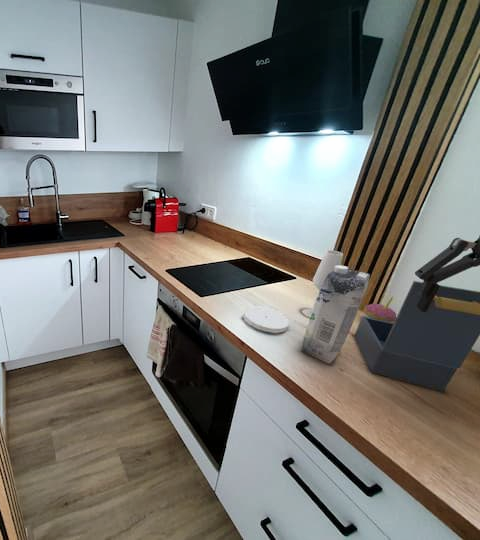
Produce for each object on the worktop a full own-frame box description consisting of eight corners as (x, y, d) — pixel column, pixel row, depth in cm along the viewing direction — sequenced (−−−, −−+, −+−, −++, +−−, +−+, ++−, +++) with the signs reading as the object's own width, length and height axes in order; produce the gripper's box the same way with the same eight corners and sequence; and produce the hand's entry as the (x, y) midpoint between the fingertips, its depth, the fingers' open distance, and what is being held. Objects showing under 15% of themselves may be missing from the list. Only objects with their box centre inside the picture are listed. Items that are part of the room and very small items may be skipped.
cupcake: (397, 332, 95) (413, 301, 90) (369, 329, 96) (383, 298, 91) (379, 318, 103) (393, 289, 98) (354, 315, 104) (366, 286, 99)
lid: (413, 280, 68) (426, 290, 62) (500, 295, 62) (522, 307, 57) (382, 348, 75) (390, 362, 69) (457, 366, 69) (473, 383, 64)
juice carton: (341, 351, 85) (376, 268, 74) (332, 368, 78) (369, 280, 68) (307, 337, 91) (335, 259, 80) (297, 352, 84) (325, 268, 73)
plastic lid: (234, 314, 102) (235, 308, 101) (266, 310, 106) (268, 304, 105) (261, 338, 90) (263, 331, 89) (297, 332, 94) (299, 325, 93)
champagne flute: (326, 320, 101) (350, 257, 91) (305, 317, 102) (327, 254, 92) (319, 310, 107) (341, 250, 97) (299, 308, 108) (319, 248, 98)
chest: (354, 335, 93) (362, 316, 90) (412, 348, 87) (422, 329, 84) (371, 372, 77) (381, 350, 75) (442, 391, 72) (457, 369, 69)
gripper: (440, 215, 54) (395, 310, 63) (654, 234, 44) (565, 344, 53) (423, 208, 60) (383, 296, 69) (607, 223, 51) (534, 323, 59)
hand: (462, 317), depth 61 cm, fingers open, 13 cm apart
